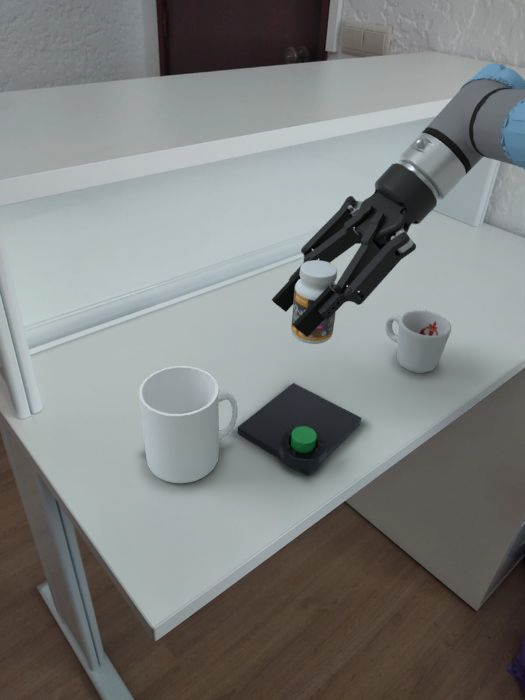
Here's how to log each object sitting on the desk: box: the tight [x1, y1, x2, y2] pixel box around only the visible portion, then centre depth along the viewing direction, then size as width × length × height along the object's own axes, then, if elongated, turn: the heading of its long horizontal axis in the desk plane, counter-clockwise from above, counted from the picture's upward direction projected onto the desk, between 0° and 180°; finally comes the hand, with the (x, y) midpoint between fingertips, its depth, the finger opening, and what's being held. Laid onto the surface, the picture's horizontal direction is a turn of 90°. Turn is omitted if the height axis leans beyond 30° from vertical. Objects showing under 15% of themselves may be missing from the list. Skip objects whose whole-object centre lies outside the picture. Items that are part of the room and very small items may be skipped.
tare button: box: [291, 426, 317, 453], centre depth 75 cm, size 3×3×2 cm
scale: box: [237, 382, 362, 477], centre depth 80 cm, size 12×14×3 cm
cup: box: [385, 309, 452, 374], centre depth 94 cm, size 11×8×8 cm
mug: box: [138, 365, 238, 484], centre depth 73 cm, size 10×12×12 cm
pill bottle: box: [290, 259, 338, 345], centre depth 76 cm, size 6×6×10 cm
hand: (289, 317), depth 75 cm, fingers closed on pill bottle, 6 cm apart
